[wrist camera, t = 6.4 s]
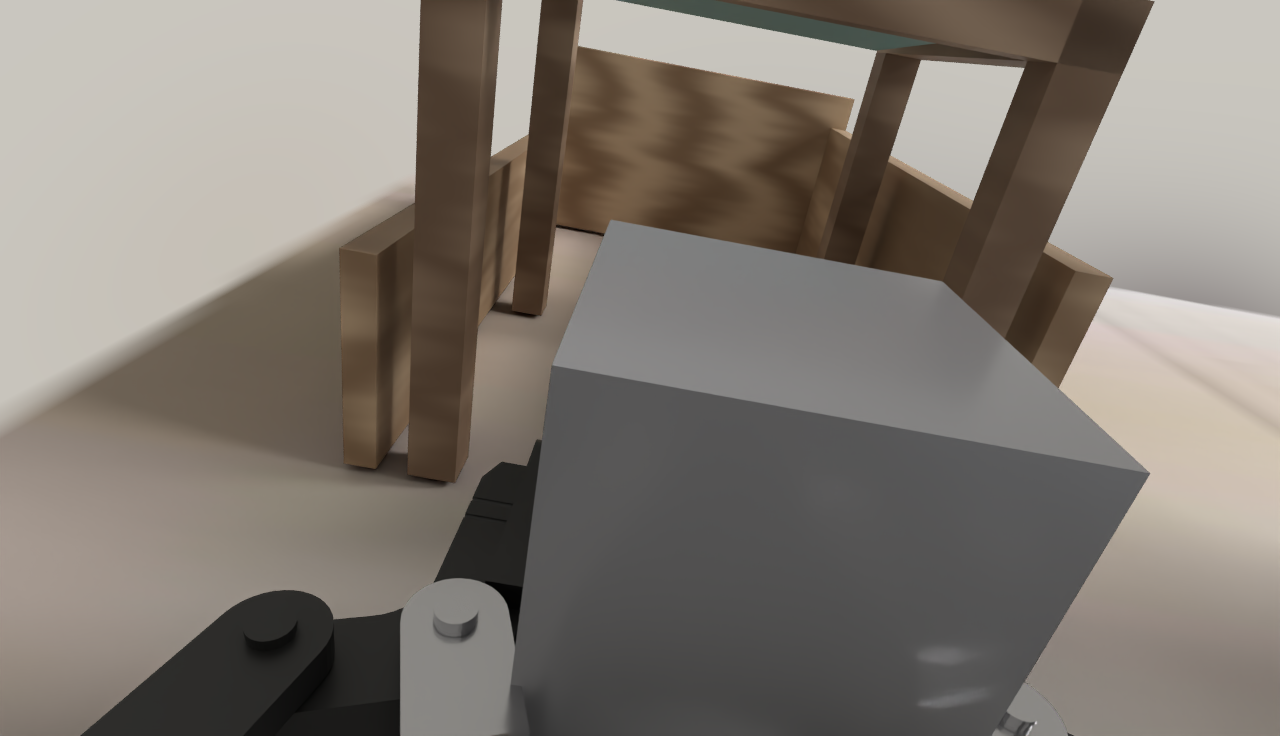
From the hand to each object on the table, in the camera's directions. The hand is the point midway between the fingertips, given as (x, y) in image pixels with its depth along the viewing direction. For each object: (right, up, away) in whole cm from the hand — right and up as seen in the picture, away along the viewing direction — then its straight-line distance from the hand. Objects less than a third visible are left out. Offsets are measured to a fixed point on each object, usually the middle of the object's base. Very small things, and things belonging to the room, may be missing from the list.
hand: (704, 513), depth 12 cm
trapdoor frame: (0, +5, +24) cm, 25 cm away
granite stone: (-1, -6, 0) cm, 7 cm away
